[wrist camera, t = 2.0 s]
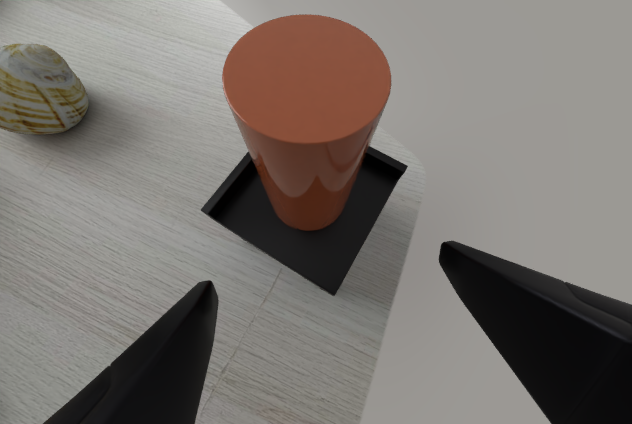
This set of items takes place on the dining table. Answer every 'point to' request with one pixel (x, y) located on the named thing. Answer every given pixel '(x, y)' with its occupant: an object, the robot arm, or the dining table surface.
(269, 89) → the orange cylinder
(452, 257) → the robot arm
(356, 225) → the black footed tray
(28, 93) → the seashell
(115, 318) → the dining table surface
